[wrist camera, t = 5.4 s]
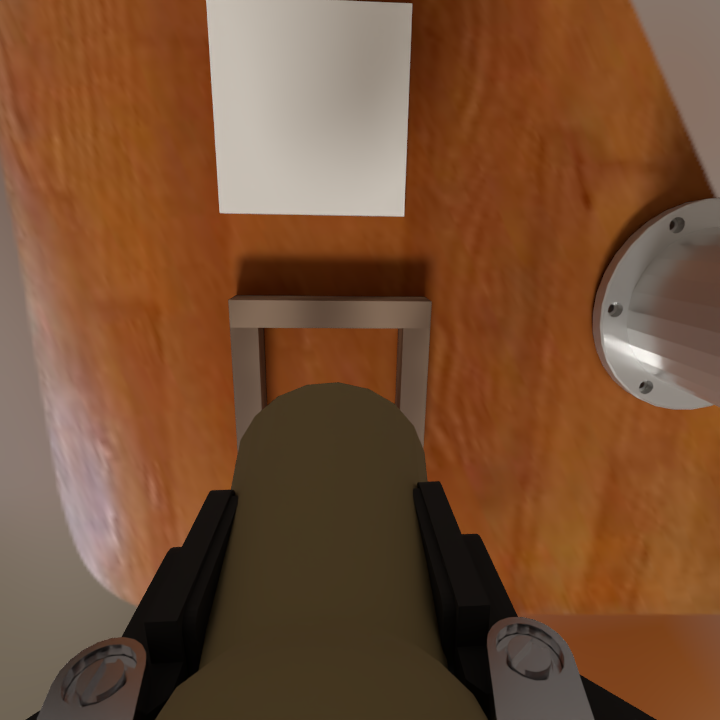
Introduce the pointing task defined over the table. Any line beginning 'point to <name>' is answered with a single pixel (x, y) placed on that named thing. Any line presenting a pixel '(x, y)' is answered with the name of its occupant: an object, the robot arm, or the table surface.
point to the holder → (328, 313)
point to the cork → (325, 574)
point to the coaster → (310, 105)
